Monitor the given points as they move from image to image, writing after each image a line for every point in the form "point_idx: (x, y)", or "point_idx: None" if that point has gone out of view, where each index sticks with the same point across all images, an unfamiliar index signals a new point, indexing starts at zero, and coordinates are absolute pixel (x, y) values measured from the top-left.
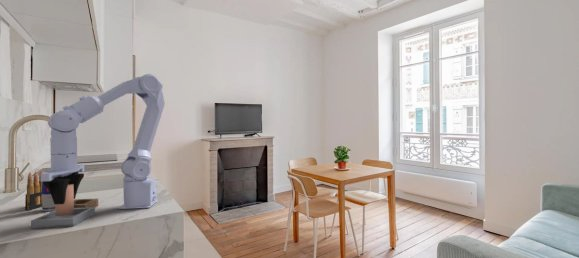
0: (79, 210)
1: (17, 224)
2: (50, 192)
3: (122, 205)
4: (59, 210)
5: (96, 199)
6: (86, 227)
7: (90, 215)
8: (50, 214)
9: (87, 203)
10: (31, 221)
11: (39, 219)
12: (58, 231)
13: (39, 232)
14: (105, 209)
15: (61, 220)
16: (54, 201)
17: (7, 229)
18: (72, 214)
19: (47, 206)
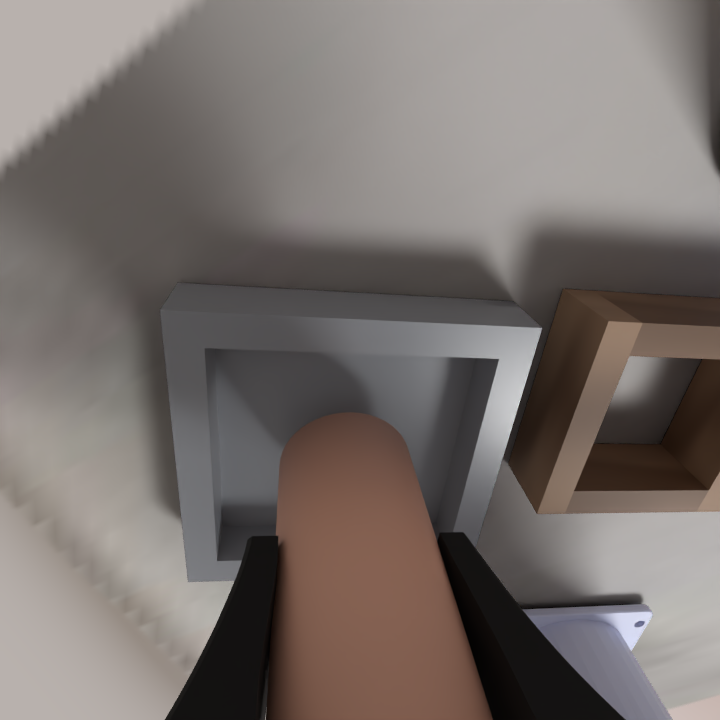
0: (457, 488)
1: (327, 43)
2: (186, 691)
3: (549, 619)
4: (277, 502)
5: (694, 509)
6: (170, 603)
7: None
8: (368, 352)
9: (571, 511)
10: (161, 313)
11: (197, 362)
12: (103, 506)
13: (83, 404)
14: (540, 542)
15: (183, 516)
16: (241, 569)
17: (170, 46)
18: (450, 429)
19: None
